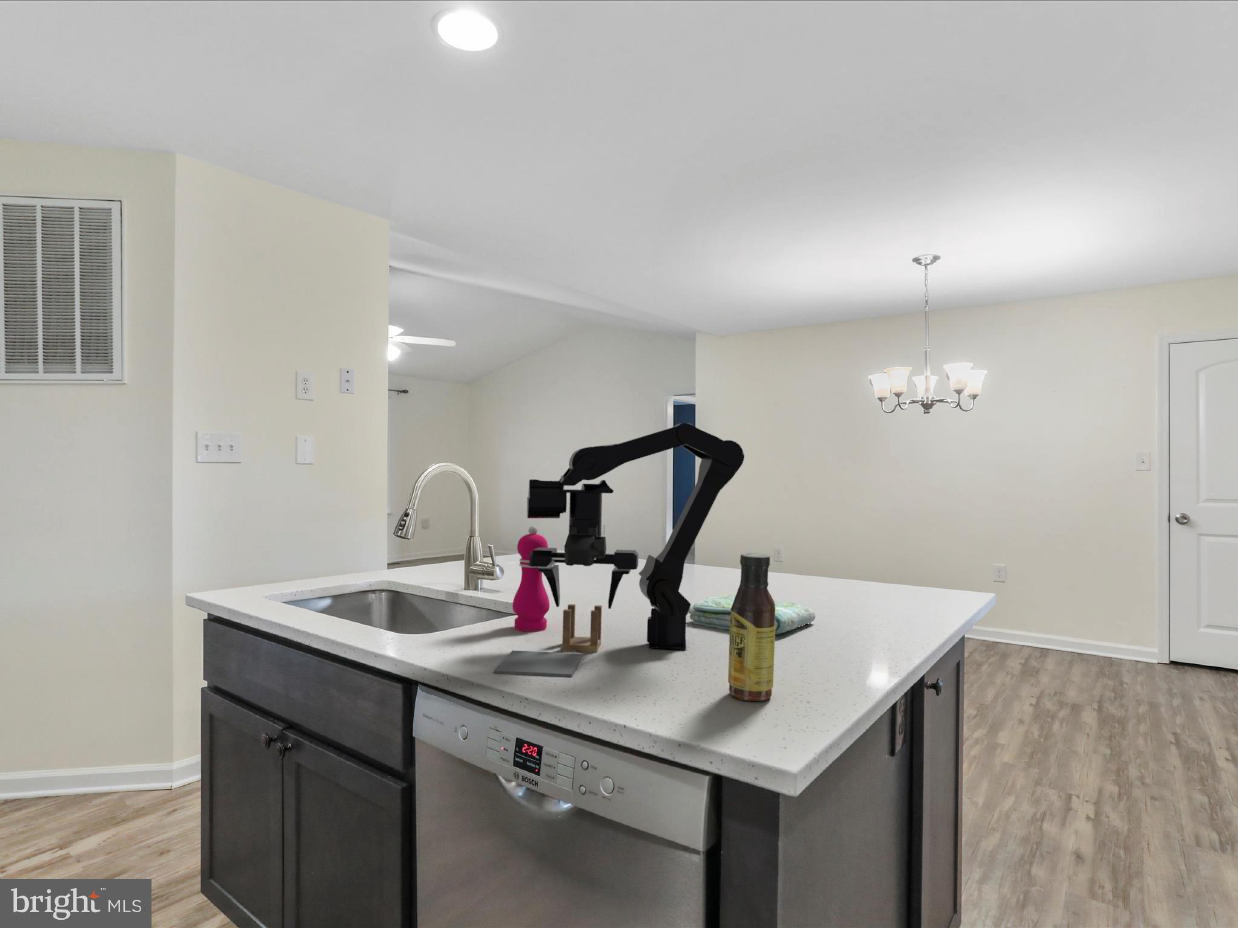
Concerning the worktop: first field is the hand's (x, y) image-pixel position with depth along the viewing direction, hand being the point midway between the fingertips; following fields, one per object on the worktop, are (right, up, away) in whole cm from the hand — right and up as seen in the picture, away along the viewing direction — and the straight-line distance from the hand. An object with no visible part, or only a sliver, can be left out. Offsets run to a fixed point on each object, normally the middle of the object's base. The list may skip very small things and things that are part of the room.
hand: (583, 607), depth 123 cm
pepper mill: (-11, -7, +14) cm, 19 cm away
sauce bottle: (+25, -7, -25) cm, 36 cm away
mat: (-6, -7, -12) cm, 15 cm away
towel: (+34, -9, +23) cm, 42 cm away
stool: (0, -7, 0) cm, 7 cm away
